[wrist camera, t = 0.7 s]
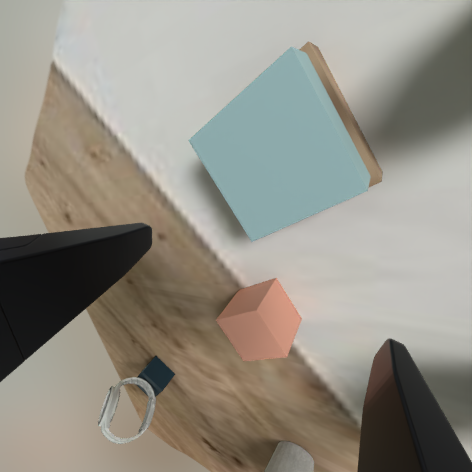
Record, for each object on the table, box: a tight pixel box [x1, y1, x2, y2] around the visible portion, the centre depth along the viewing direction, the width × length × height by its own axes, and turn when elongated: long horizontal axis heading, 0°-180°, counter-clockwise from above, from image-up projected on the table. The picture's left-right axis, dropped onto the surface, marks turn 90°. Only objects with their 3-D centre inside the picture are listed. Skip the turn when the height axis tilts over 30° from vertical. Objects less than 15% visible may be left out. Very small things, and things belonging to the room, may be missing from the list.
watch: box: [98, 356, 175, 444], centre depth 41 cm, size 6×8×11 cm
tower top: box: [189, 47, 371, 242], centre depth 17 cm, size 8×8×3 cm
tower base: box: [300, 42, 382, 188], centre depth 19 cm, size 9×9×3 cm
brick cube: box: [216, 278, 302, 361], centre depth 26 cm, size 5×5×5 cm
